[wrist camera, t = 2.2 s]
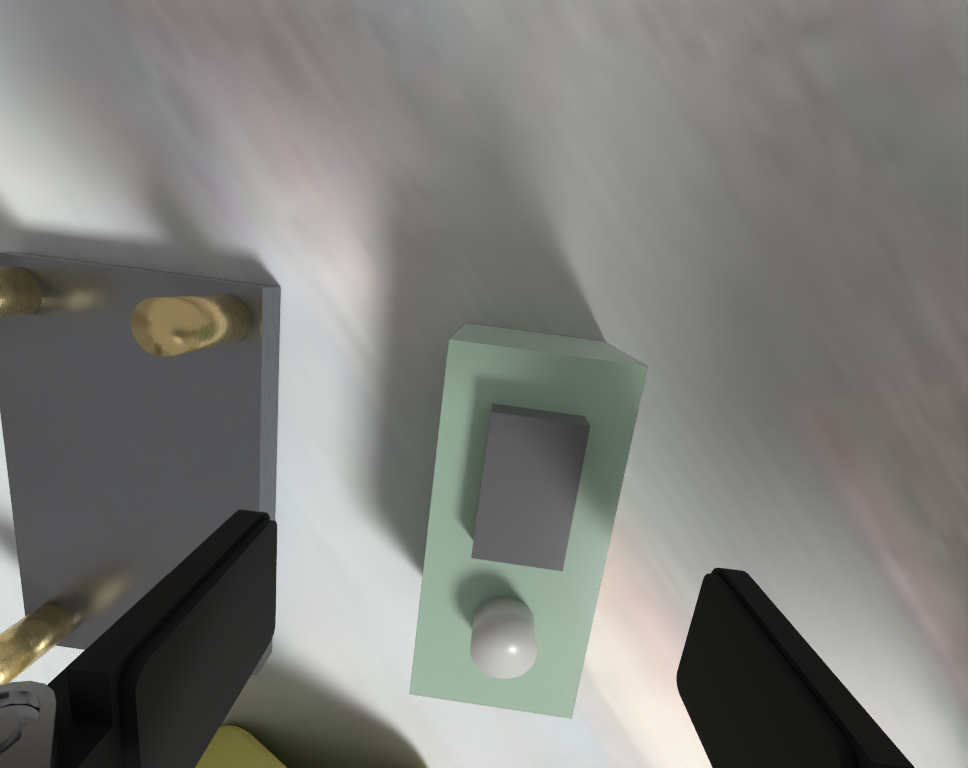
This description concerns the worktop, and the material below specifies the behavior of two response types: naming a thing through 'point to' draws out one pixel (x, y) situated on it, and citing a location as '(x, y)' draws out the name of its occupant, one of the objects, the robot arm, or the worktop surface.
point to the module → (521, 515)
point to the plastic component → (237, 751)
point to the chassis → (126, 433)
